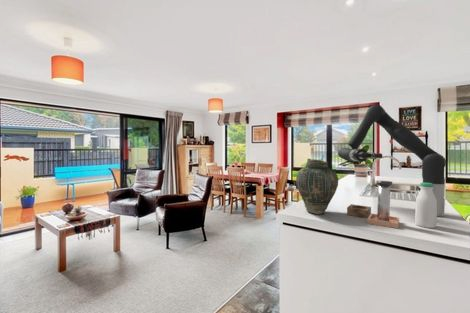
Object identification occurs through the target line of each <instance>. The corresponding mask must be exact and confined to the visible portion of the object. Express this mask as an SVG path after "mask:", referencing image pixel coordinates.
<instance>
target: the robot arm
mask: <svg viewBox="0 0 470 313" xmlns="http://www.w3.org/2000/svg"><path fill="white" fill-rule="evenodd" d="M374 123H376V124H378V125H379V126H380V127H382V128H383V129H384V130H385V131H386V132H387V134H388V135H389V136H390V137H391V138H392V139H393V140H394V141H395V142H397V144H399V145H400V146H401V147H403V149H406V150H407V151H409V152H411V153H412V154H414V155H415V156H416V157H417V158H418V159H420V160H421V161H422V163H421V169H422V170H421V173H422V174H421V177H422V183H432V184H433V189H432V191H433V194H434V196H435V198H436V201H437V217H441V218H442V217H443V218H444V217H445V206H446V199H445V192H446V190H445V187H446V185H445V184H446V178H445V167H446V165H447V160H446V158H445V157H444V156H443V155H442V154H440V153H438V152H437V151H436V150H434V149H433V148H431V147H430V146H428V145H427V144H426V143H425V142H424V141H423V140H422V139H421V138H420V137H419V136H417V134H415V133H414V132H413V131H412V130H411V129H409V127H407V126H405V125H404V124H402V123H401V122H399V121H397V120H395V119H394V118H392V117H391V116H390V114H388V112H386V110H385V108H384V107H383V106H382V105H380V104H373V105H371V106H370V107H369V108H368V109H367V111H366V113H365V114H364V117H363V119H362V121H361V122H360V124H359V125H358V128H357V129H356V131H355V132H354V134H353V135H352V136H351V138H350V139H349V141H348V142H347V145H348V146H349V147H351V148H349V147H342V148H340V149H339V150H338V152H337V154H338V157H340V158H341V159H343V160H345V161H346V162H360V163H361V162H366V161H367V160H368V159H371V160H373V159H381V158H383V154H382V153H381V152H380V153H378V152H370V151H368V150H366V149H365V148H360V146H361V145H362V143H364V140H365V139H366V137H367V135H368V133H369V131H370V129H371V127H372V125H374Z"/></svg>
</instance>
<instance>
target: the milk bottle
mask: <svg viewBox="0 0 470 313" xmlns="http://www.w3.org/2000/svg"><path fill="white" fill-rule="evenodd" d="M419 187H420V191H419V193H418V194H417V196H416V200H415V211H414V212H415V215H414V216H415V217H414V223H415V225H416V226H418V227H420V228H428V229H435V228H437V218H438V216H437V201H436V198H435V196H434V194H433V191H432V189H433V184H432V183H423V182H420V186H419Z"/></svg>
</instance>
